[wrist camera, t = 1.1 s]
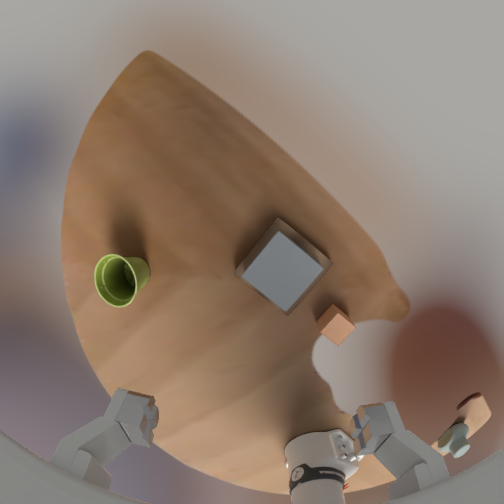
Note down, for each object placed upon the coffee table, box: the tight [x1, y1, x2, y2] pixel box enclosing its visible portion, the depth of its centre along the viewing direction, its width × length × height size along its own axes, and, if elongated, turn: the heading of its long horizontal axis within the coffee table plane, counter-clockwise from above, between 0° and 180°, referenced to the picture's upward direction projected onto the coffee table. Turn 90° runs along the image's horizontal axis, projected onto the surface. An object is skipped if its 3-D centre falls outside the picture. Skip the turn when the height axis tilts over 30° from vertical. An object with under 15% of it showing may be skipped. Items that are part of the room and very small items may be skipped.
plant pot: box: [94, 254, 150, 307], centre depth 46 cm, size 9×9×9 cm
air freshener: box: [438, 423, 470, 458], centre depth 44 cm, size 11×8×10 cm
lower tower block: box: [233, 217, 334, 316], centre depth 46 cm, size 12×12×4 cm
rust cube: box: [317, 304, 356, 346], centre depth 46 cm, size 4×4×5 cm
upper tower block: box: [241, 230, 324, 311], centre depth 43 cm, size 9×9×4 cm
